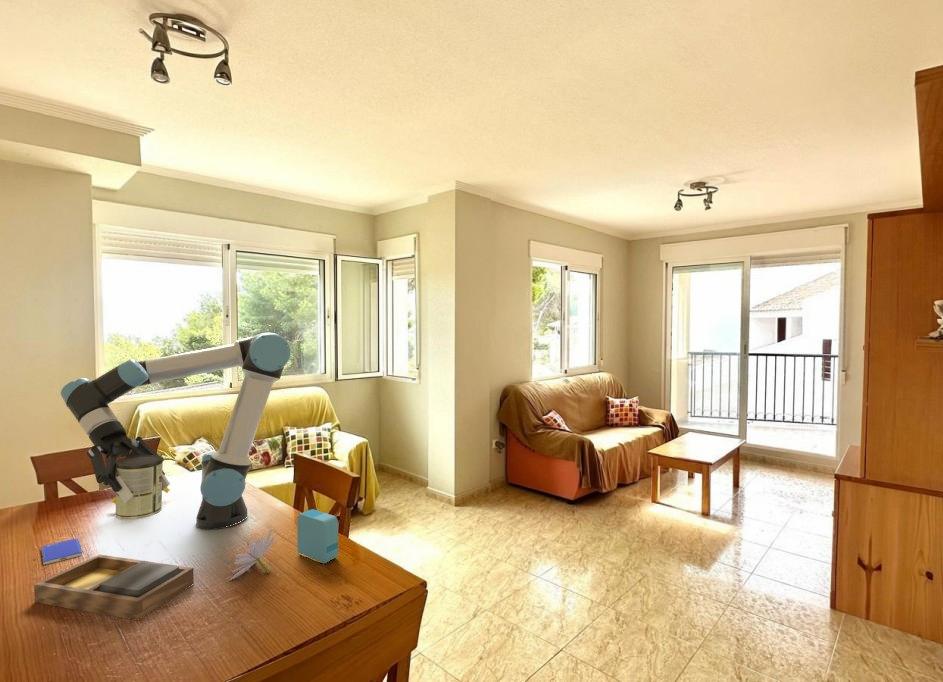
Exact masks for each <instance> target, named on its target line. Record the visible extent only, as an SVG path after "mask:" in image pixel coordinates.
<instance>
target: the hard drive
mask: <svg viewBox="0 0 943 682" xmlns="http://www.w3.org/2000/svg"><path fill="white" fill-rule="evenodd" d="M82 551H83V550H82V548H81V544H80V541H79V538H77V537H76V538H72V539H68V540H64V541H59V542H54V543H51V544H46V545H43V546H41V554H42V555H41V557H42V556H43V557H42V562H43V566H45V564H46V565H49V564H54V563H57V562H61V561H64V560H65V559H66V560H68V559H69V560H70V559H73V558H77V557H82V556H83V552H82Z"/></svg>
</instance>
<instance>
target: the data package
mask: <svg viewBox="0 0 943 682" xmlns="http://www.w3.org/2000/svg"><path fill="white" fill-rule="evenodd" d="M296 521H297V526H296V527H297V528H296V529H297V553H298V554H299V553H301V554H304V555H306V556H308V557H310V558H312V559H315V560H317V561H320V562H322V563H326V564H328V563H330V562H331V561H330V560H332V559H334V558H336V557H337V558H338V556H339V520H338V518H337V516H335V515H332V514H330V513H326V512H323V511H320V510H316V509H313V508H312V509H309V510H306V511H304V512H301V513H299V514H298V515H297V520H296ZM337 558H336V559H337ZM334 560H335V559H334ZM329 561H330V562H329ZM332 561H333V560H332ZM327 562H328V563H327Z"/></svg>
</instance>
